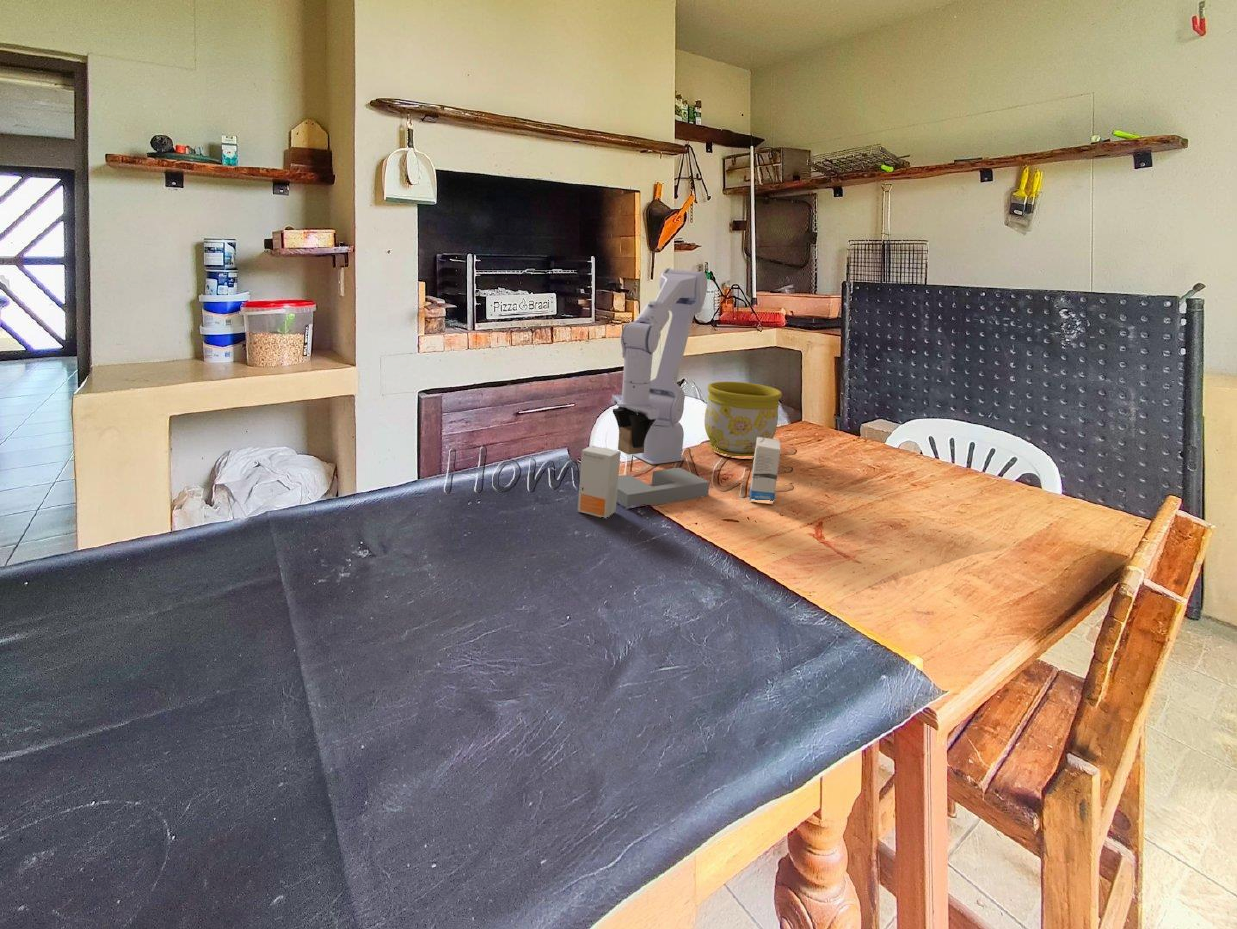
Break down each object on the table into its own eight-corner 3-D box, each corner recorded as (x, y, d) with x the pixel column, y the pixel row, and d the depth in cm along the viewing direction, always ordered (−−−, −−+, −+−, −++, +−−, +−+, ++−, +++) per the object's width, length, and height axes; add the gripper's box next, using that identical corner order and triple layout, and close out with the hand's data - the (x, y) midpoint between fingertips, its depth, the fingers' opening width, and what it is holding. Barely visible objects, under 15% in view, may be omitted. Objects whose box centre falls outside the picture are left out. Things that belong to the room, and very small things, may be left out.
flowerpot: (744, 441, 184) (752, 380, 179) (787, 460, 169) (798, 395, 164) (687, 445, 176) (693, 381, 171) (727, 466, 161) (736, 397, 156)
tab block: (633, 447, 150) (634, 425, 148) (643, 452, 146) (645, 430, 145) (617, 449, 147) (619, 426, 146) (628, 454, 144) (630, 431, 143)
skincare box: (576, 512, 125) (580, 449, 122) (587, 505, 129) (591, 444, 126) (606, 519, 123) (611, 456, 120) (616, 512, 127) (621, 450, 123)
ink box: (773, 506, 137) (782, 449, 133) (748, 502, 137) (756, 446, 134) (772, 492, 145) (780, 438, 141) (749, 489, 145) (756, 435, 142)
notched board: (677, 480, 147) (679, 467, 146) (708, 495, 139) (709, 481, 139) (598, 492, 136) (599, 478, 136) (626, 509, 129) (628, 494, 128)
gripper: (601, 375, 146) (597, 437, 150) (640, 389, 135) (635, 455, 139) (629, 374, 150) (624, 434, 154) (669, 387, 138) (663, 452, 142)
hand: (631, 444), depth 146 cm, fingers closed on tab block, 4 cm apart
